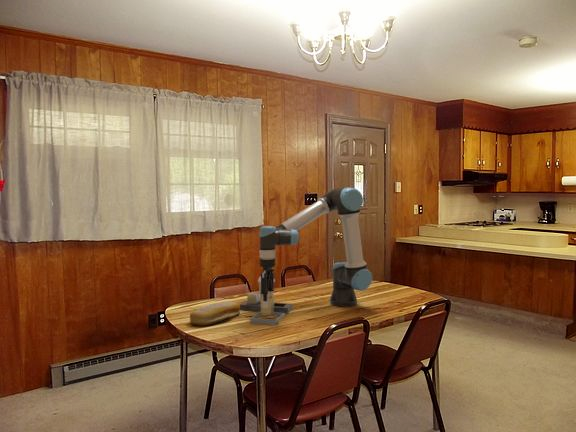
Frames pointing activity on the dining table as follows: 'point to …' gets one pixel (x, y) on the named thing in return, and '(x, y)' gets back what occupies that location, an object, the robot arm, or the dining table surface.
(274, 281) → the coffee cup
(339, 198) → the robot arm
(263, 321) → the parts tray
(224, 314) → the bread
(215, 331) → the dining table surface
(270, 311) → the tan rectangular block
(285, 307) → the grey slotted holder
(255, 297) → the grey rectangular block
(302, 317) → the dining table surface
